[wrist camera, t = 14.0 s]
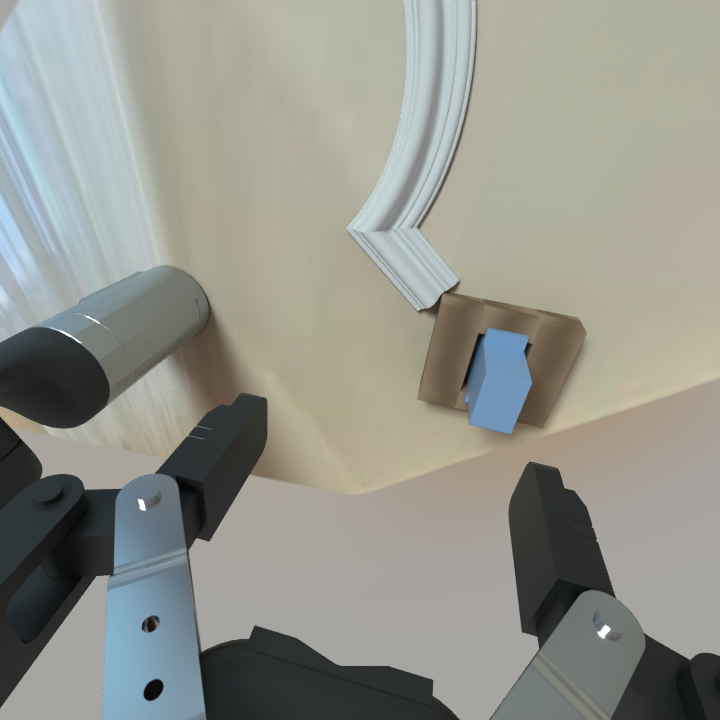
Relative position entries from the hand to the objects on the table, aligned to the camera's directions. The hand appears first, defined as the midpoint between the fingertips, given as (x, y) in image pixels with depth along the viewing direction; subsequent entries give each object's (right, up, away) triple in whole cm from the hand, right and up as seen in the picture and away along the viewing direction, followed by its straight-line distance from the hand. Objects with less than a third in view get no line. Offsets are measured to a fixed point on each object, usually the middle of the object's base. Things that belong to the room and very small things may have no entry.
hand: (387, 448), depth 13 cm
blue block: (+14, +4, +34) cm, 37 cm away
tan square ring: (+14, +3, +34) cm, 37 cm away
